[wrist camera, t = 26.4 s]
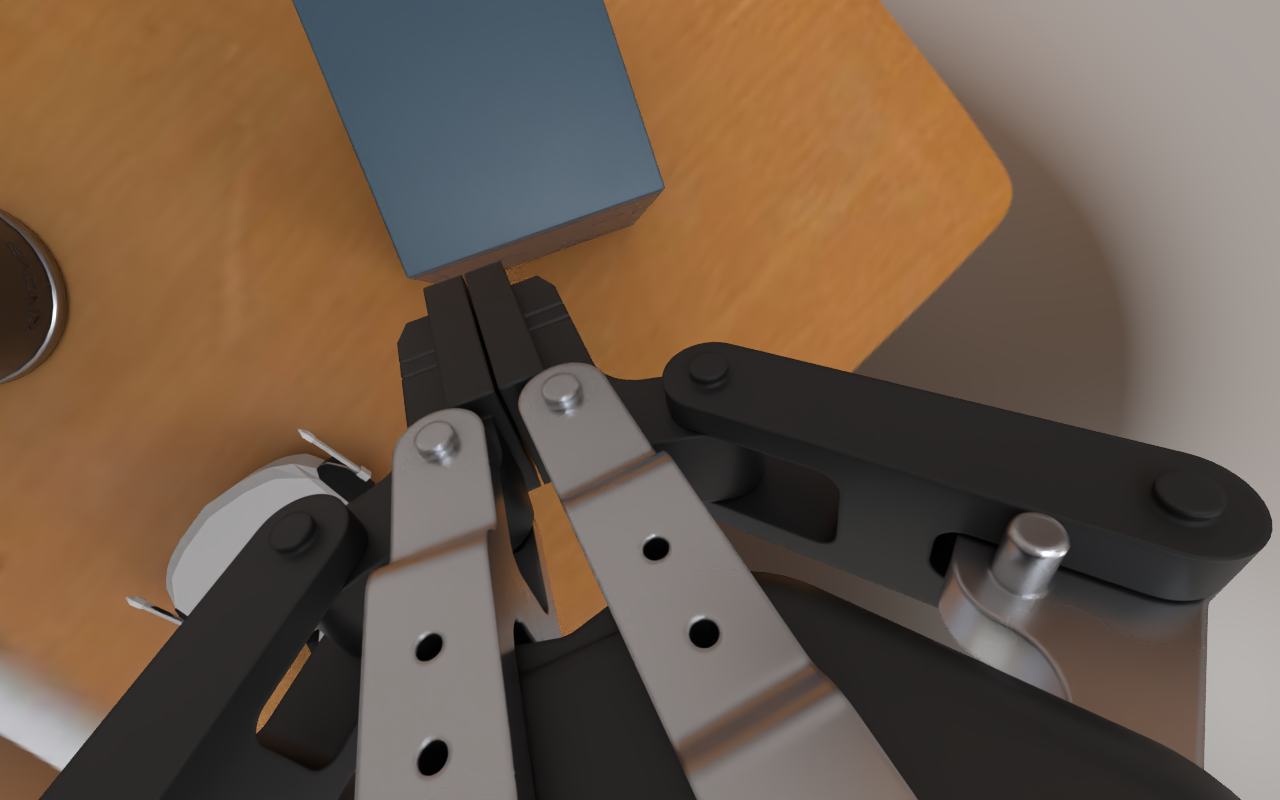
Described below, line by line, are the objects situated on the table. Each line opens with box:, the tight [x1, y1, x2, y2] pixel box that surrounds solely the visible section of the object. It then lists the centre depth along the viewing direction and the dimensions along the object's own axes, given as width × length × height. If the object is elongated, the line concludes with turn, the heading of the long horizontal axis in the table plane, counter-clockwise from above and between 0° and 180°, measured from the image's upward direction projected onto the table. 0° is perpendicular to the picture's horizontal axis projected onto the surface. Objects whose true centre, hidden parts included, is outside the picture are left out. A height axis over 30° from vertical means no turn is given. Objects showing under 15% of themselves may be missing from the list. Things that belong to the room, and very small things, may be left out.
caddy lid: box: [292, 0, 665, 279], centre depth 23 cm, size 12×11×1 cm
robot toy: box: [126, 429, 375, 653], centre depth 34 cm, size 12×4×15 cm
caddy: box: [415, 193, 660, 284], centre depth 29 cm, size 12×11×10 cm
